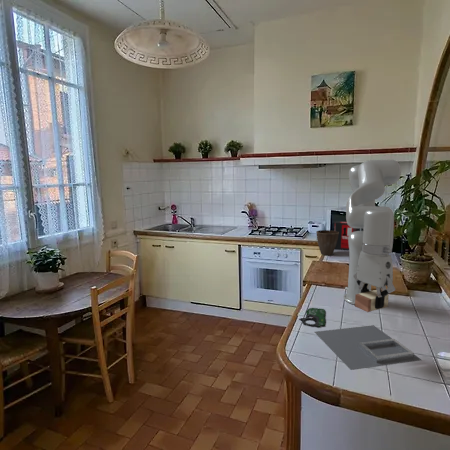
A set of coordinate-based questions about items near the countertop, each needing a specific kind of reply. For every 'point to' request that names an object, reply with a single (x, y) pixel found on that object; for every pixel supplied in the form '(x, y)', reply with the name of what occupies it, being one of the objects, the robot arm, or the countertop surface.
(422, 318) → the countertop surface
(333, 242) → the plant pot
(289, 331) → the countertop surface
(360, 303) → the maple block
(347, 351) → the rubber mat
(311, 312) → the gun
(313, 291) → the countertop surface
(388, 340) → the metal frame
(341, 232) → the cleaning product box
